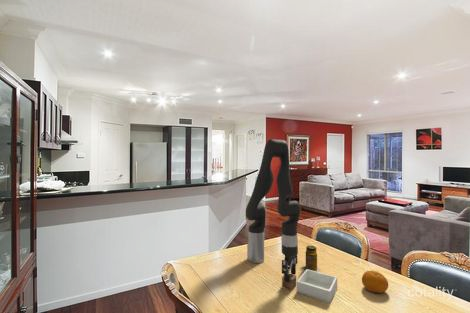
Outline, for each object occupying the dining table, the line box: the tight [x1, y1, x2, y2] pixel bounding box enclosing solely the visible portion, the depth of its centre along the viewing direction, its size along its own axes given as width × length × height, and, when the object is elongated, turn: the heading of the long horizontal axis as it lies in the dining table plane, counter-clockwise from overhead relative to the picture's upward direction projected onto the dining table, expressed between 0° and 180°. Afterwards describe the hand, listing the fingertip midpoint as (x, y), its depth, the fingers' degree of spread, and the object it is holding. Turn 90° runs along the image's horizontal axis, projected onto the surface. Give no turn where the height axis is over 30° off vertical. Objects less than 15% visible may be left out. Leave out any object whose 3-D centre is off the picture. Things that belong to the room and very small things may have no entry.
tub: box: [296, 269, 338, 304], centre depth 111 cm, size 14×14×5 cm
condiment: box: [299, 245, 321, 272], centre depth 132 cm, size 7×8×12 cm
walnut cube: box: [281, 273, 297, 291], centre depth 114 cm, size 5×5×5 cm
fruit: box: [361, 270, 389, 294], centre depth 111 cm, size 10×10×8 cm
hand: (290, 277), depth 114 cm, fingers open, 8 cm apart
